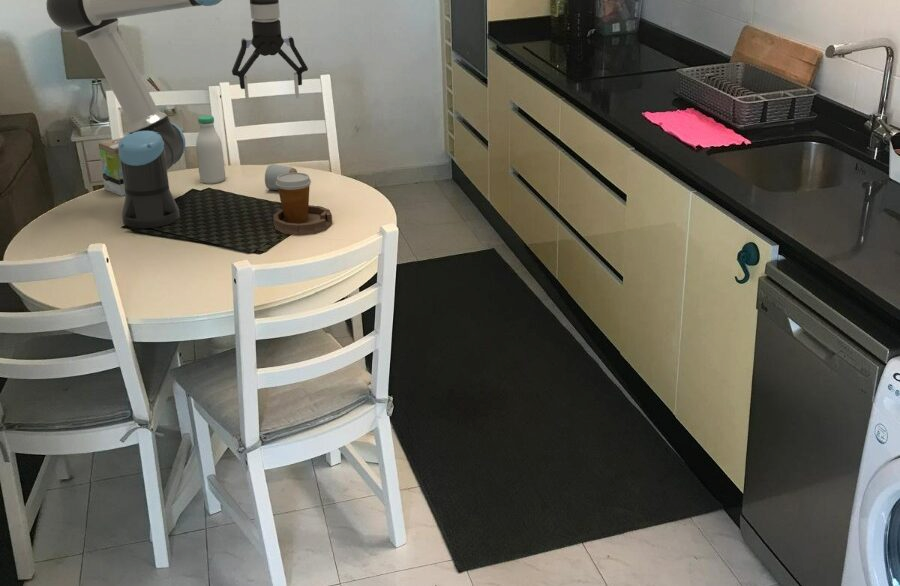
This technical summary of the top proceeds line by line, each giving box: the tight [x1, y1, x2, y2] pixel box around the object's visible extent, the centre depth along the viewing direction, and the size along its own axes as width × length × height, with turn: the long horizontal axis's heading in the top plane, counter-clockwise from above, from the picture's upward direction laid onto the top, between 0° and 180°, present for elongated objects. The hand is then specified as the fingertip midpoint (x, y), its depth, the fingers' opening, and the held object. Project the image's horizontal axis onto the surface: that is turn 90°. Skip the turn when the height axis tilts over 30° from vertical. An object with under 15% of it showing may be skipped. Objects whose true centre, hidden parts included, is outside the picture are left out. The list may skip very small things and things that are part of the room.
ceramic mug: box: [264, 163, 298, 191], centre depth 289 cm, size 11×8×8 cm
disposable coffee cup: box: [276, 172, 312, 223], centre depth 261 cm, size 10×10×12 cm
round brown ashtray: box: [272, 204, 333, 236], centre depth 262 cm, size 15×15×3 cm
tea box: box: [98, 137, 126, 197], centre depth 289 cm, size 15×10×15 cm
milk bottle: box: [195, 114, 226, 185], centre depth 293 cm, size 8×8×20 cm
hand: (272, 99), depth 264 cm, fingers open, 13 cm apart
